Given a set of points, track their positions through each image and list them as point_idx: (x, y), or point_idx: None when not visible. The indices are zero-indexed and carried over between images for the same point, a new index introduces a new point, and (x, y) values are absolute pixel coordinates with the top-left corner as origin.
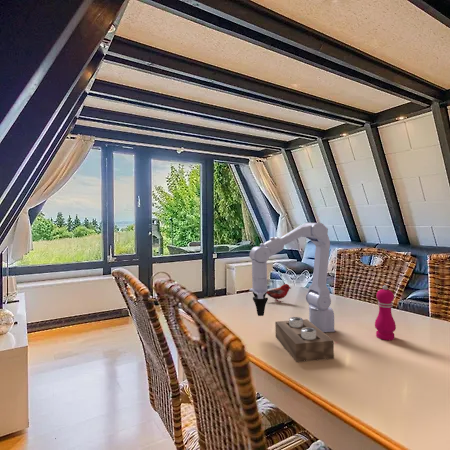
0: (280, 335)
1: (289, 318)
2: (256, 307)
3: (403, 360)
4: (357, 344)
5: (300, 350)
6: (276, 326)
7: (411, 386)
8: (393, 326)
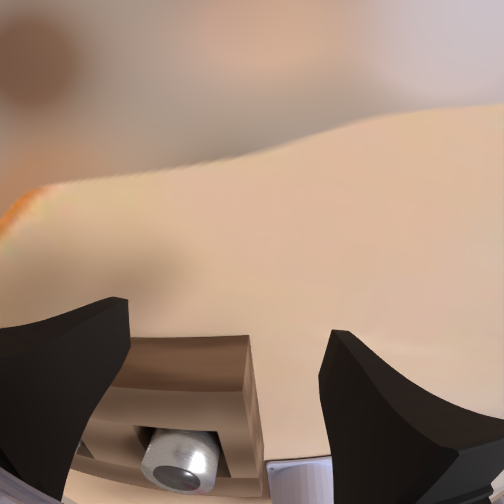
0: (155, 359)
1: (184, 463)
2: (40, 324)
3: (104, 501)
4: (173, 498)
5: None
6: (220, 376)
7: None
8: None
